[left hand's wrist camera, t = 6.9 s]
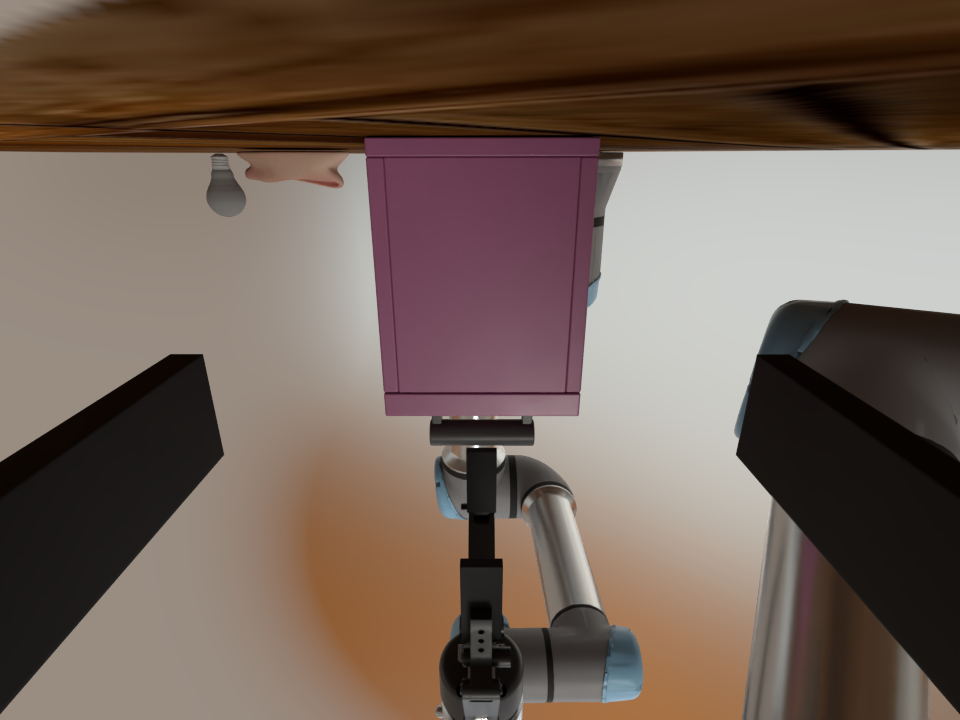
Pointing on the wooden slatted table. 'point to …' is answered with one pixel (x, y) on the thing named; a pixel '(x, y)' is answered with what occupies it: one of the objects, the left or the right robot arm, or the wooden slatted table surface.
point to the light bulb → (224, 189)
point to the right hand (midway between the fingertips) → (481, 496)
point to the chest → (482, 260)
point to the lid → (482, 414)
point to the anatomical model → (295, 166)
